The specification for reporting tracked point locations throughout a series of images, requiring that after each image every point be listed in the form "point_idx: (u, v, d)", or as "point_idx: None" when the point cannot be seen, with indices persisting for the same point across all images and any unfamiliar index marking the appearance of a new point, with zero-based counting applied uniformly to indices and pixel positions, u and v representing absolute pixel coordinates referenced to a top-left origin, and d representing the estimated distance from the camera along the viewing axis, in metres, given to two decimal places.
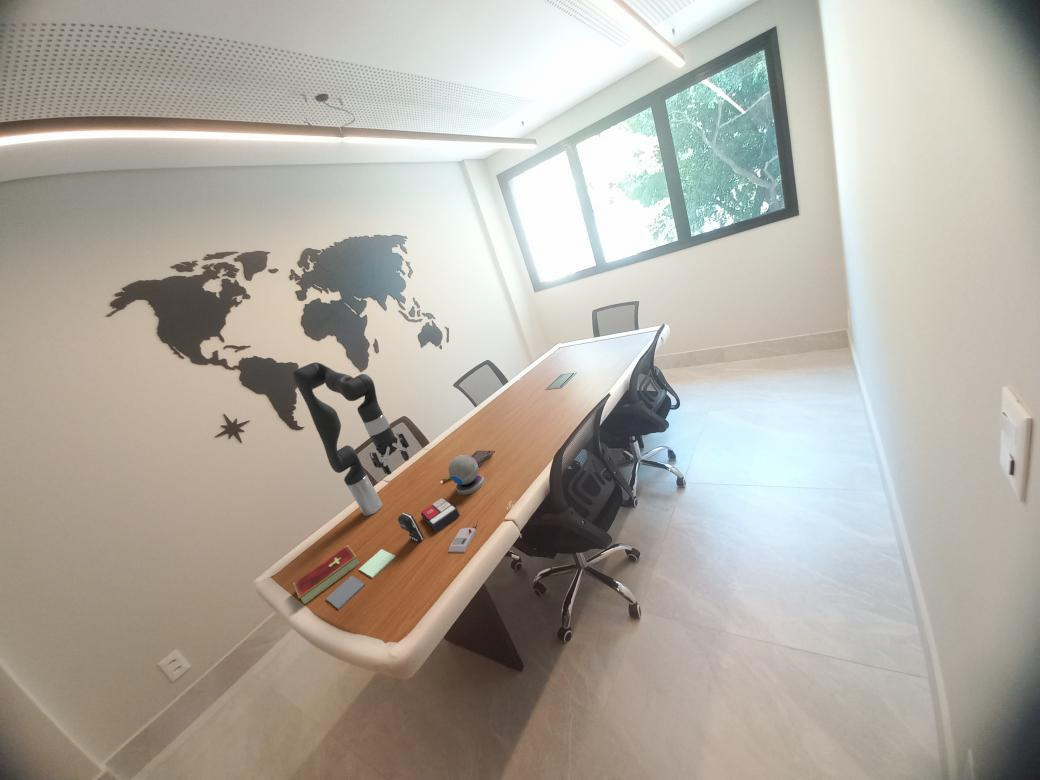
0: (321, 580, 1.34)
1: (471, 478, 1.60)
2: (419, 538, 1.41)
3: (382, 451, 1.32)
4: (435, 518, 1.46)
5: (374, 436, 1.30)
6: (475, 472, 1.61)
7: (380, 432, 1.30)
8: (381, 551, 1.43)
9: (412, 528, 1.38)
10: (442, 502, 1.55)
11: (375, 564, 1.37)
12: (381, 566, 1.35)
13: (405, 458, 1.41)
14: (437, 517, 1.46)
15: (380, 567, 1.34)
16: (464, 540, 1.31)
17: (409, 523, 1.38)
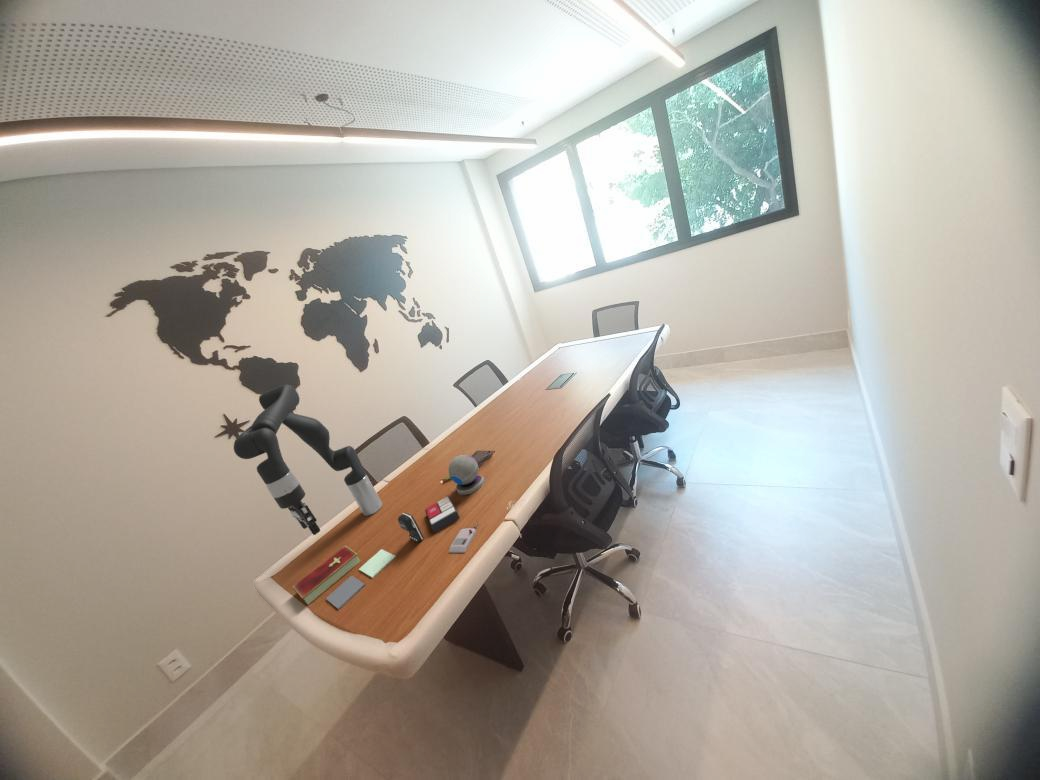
0: (323, 579, 1.34)
1: (471, 478, 1.60)
2: (419, 538, 1.41)
3: None
4: (435, 518, 1.46)
5: (295, 490, 1.14)
6: (475, 472, 1.61)
7: (298, 484, 1.16)
8: (381, 551, 1.43)
9: (412, 528, 1.38)
10: (446, 501, 1.55)
11: (375, 564, 1.37)
12: (381, 566, 1.35)
13: None
14: (437, 517, 1.46)
15: (380, 567, 1.34)
16: (465, 540, 1.31)
17: (409, 523, 1.38)
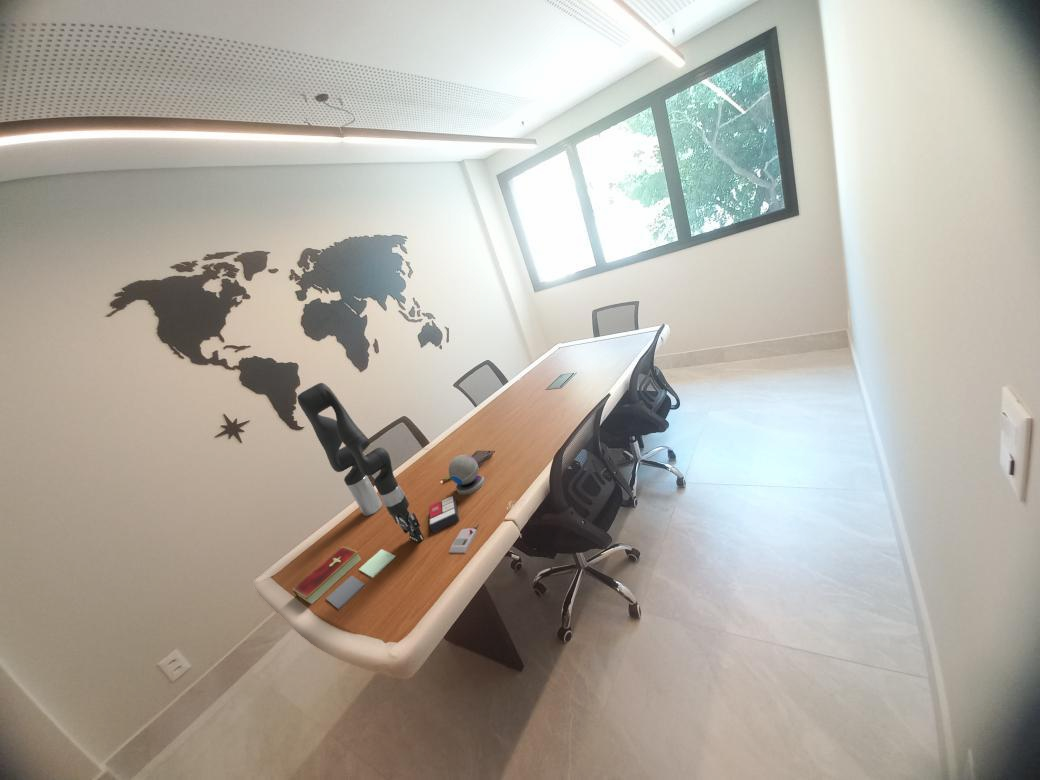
0: (326, 578, 1.34)
1: (471, 478, 1.60)
2: (419, 538, 1.41)
3: None
4: (434, 518, 1.46)
5: (403, 500, 1.36)
6: (475, 472, 1.61)
7: None
8: (381, 551, 1.43)
9: None
10: (449, 501, 1.54)
11: (375, 564, 1.37)
12: (381, 566, 1.35)
13: None
14: (436, 518, 1.46)
15: (380, 567, 1.34)
16: (465, 540, 1.31)
17: None
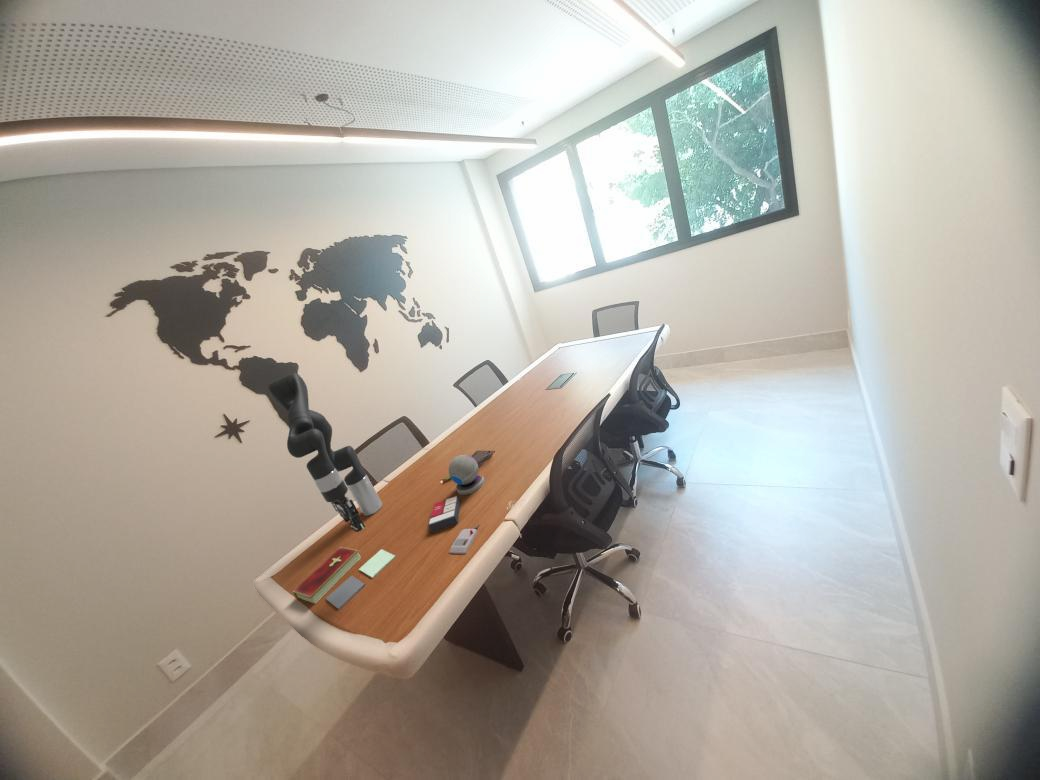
0: (328, 577, 1.34)
1: (471, 478, 1.60)
2: (359, 527, 1.30)
3: (348, 501, 1.27)
4: (434, 518, 1.46)
5: (340, 485, 1.26)
6: (475, 472, 1.61)
7: (342, 479, 1.28)
8: (381, 551, 1.43)
9: None
10: (452, 502, 1.53)
11: (375, 564, 1.37)
12: (381, 566, 1.35)
13: None
14: (436, 518, 1.45)
15: (380, 567, 1.34)
16: (466, 541, 1.31)
17: None
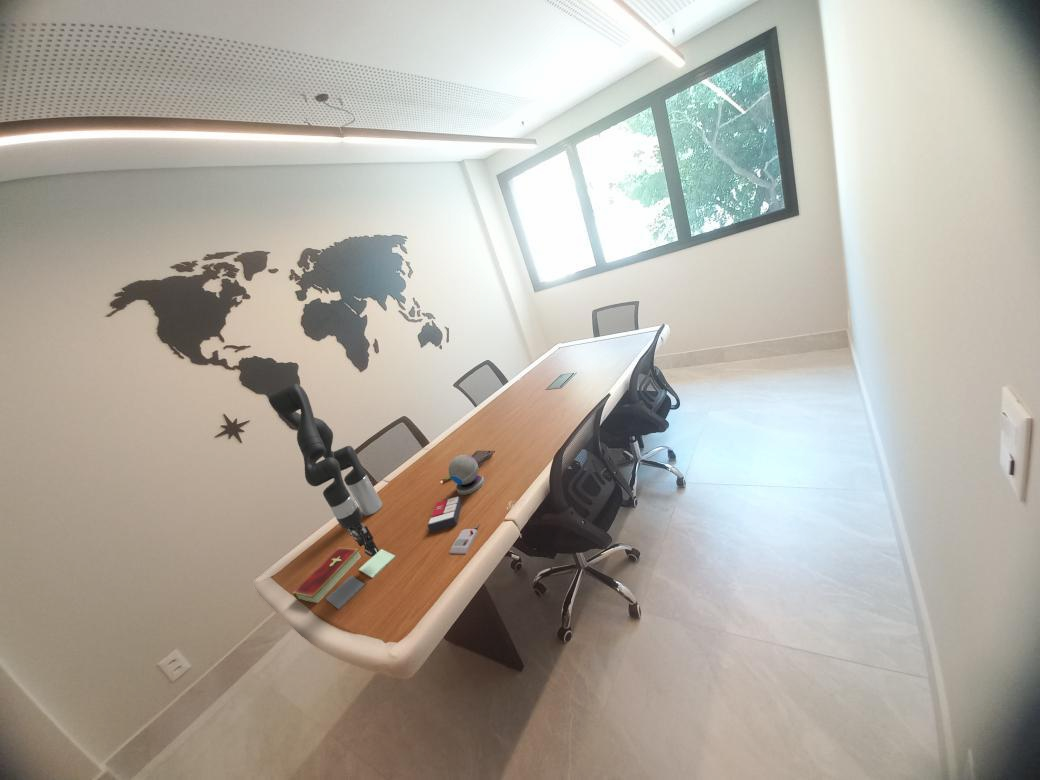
0: (329, 576, 1.34)
1: (471, 478, 1.60)
2: (373, 551, 1.34)
3: (363, 526, 1.31)
4: (434, 518, 1.46)
5: (355, 511, 1.29)
6: (475, 472, 1.61)
7: (357, 506, 1.31)
8: (381, 551, 1.43)
9: None
10: (453, 502, 1.52)
11: (375, 564, 1.37)
12: (381, 566, 1.35)
13: None
14: (436, 518, 1.45)
15: (380, 567, 1.34)
16: (466, 541, 1.30)
17: None
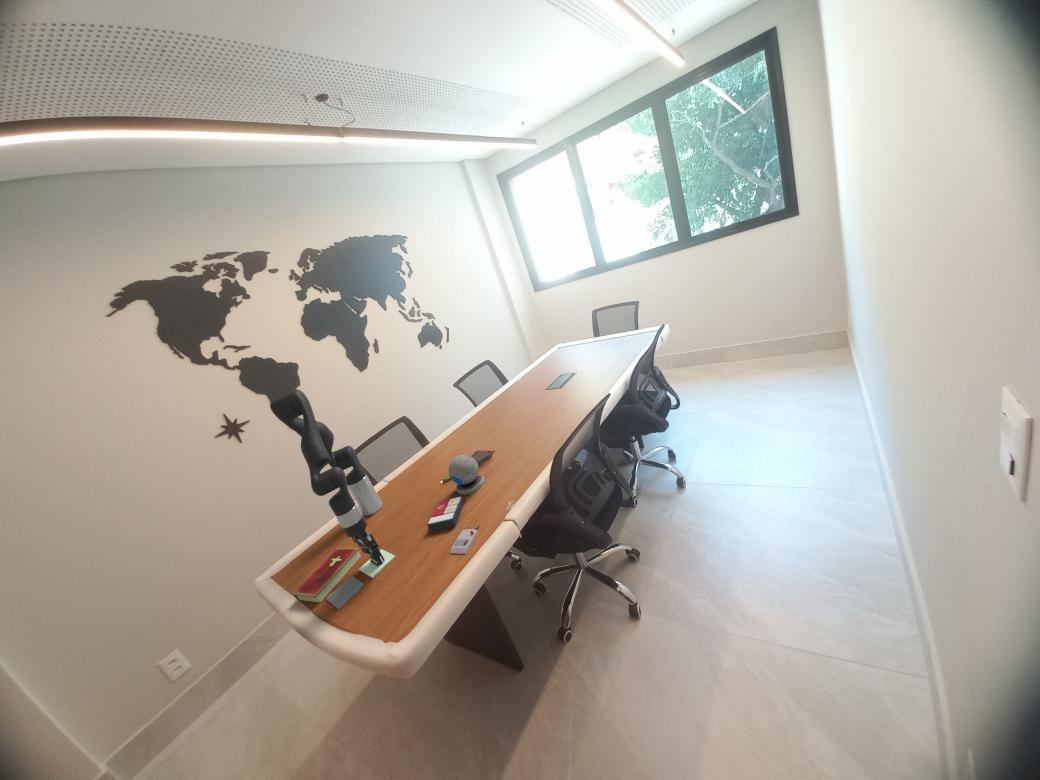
0: (331, 576, 1.34)
1: (471, 478, 1.60)
2: (379, 561, 1.35)
3: (368, 535, 1.32)
4: (434, 518, 1.46)
5: (360, 520, 1.30)
6: (475, 472, 1.61)
7: (362, 514, 1.32)
8: (381, 551, 1.43)
9: None
10: (454, 503, 1.52)
11: None
12: (381, 566, 1.35)
13: None
14: (436, 518, 1.45)
15: (380, 567, 1.34)
16: (466, 541, 1.30)
17: None
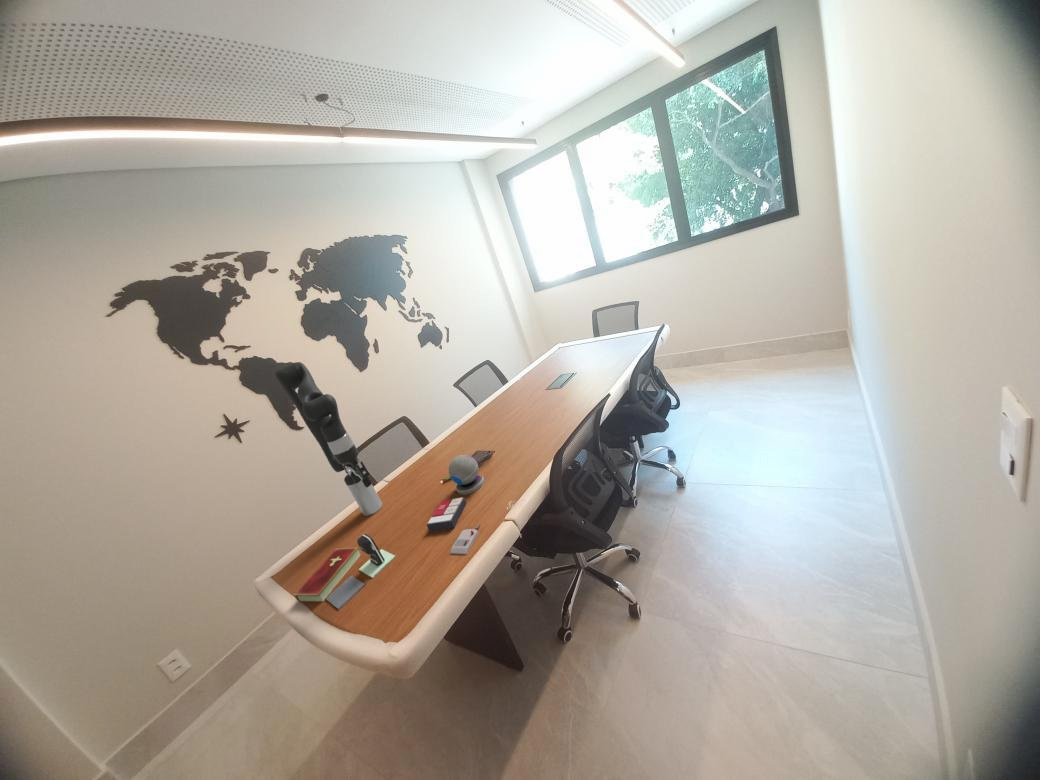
0: (332, 575, 1.34)
1: (471, 478, 1.60)
2: (379, 561, 1.35)
3: None
4: (434, 518, 1.46)
5: (351, 448, 1.33)
6: (475, 472, 1.61)
7: (353, 443, 1.35)
8: (381, 551, 1.43)
9: (371, 550, 1.33)
10: (455, 503, 1.51)
11: None
12: (381, 566, 1.35)
13: (357, 479, 1.42)
14: (435, 519, 1.45)
15: (380, 567, 1.34)
16: (466, 541, 1.30)
17: (368, 545, 1.32)
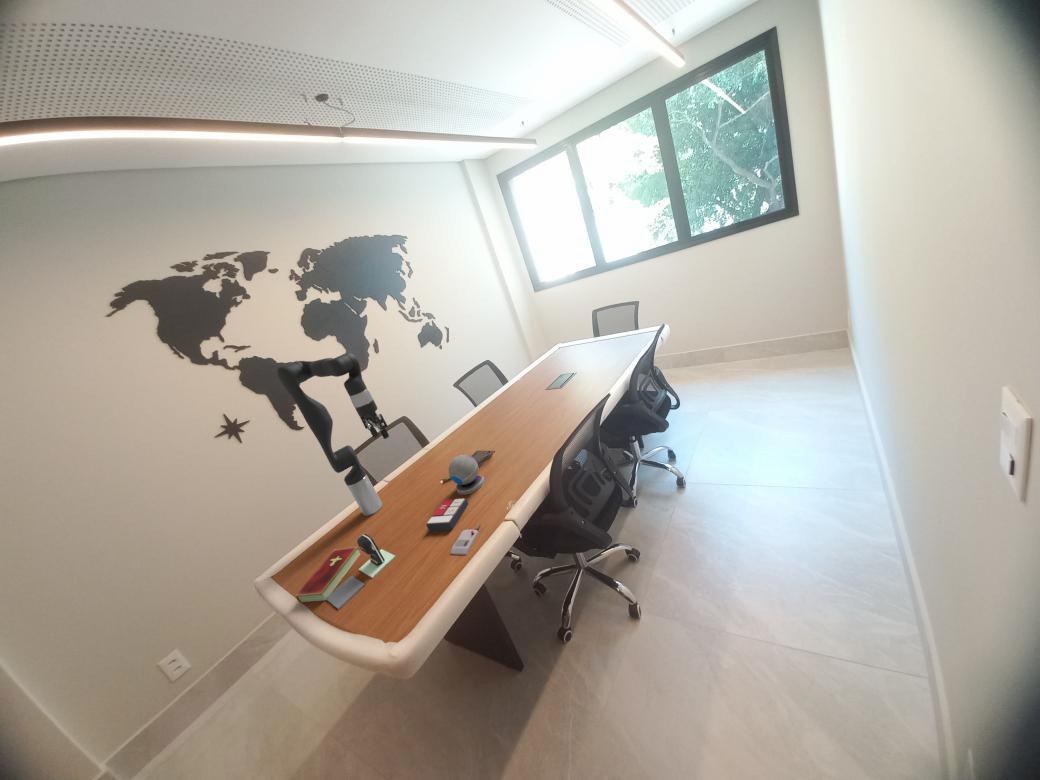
0: (334, 574, 1.35)
1: (471, 478, 1.60)
2: (379, 561, 1.35)
3: None
4: (434, 518, 1.46)
5: (371, 402, 1.47)
6: (475, 472, 1.61)
7: None
8: (381, 551, 1.43)
9: (371, 550, 1.33)
10: (456, 504, 1.50)
11: None
12: (381, 566, 1.35)
13: (376, 434, 1.56)
14: (435, 519, 1.45)
15: (380, 567, 1.34)
16: (467, 542, 1.30)
17: (368, 545, 1.32)
